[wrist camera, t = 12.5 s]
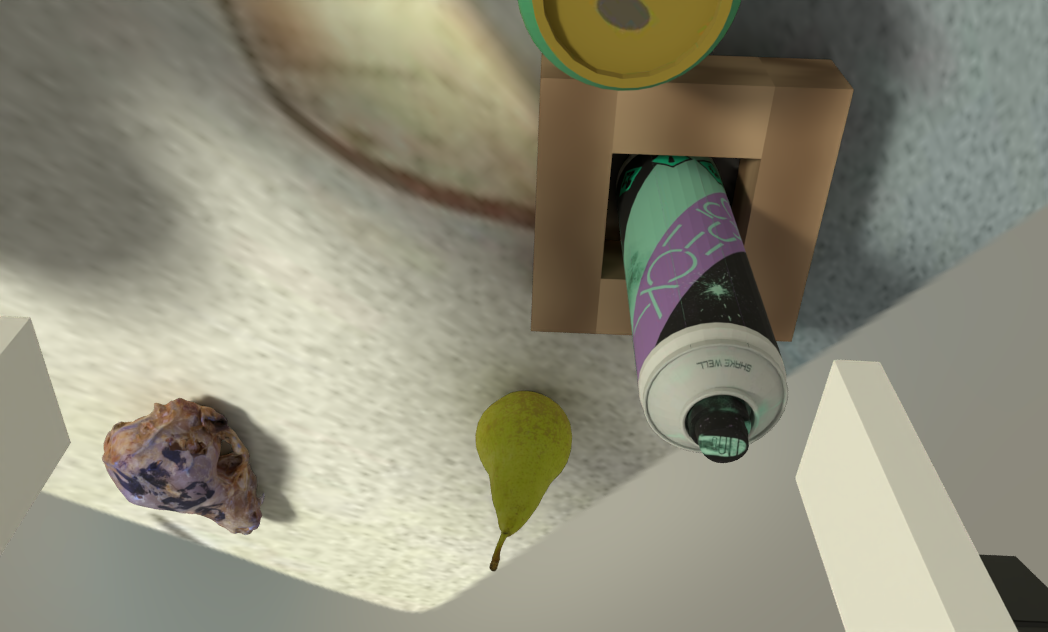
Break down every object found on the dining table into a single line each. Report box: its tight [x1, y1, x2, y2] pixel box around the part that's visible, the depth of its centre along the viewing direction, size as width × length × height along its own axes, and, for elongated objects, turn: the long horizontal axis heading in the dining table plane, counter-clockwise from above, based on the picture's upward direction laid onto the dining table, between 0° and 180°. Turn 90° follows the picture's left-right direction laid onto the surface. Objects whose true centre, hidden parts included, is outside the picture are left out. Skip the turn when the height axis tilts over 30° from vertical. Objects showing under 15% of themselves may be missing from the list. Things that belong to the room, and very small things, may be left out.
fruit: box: [476, 391, 572, 571], centre depth 51 cm, size 6×6×12 cm
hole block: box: [531, 53, 854, 342], centre depth 45 cm, size 14×14×4 cm
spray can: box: [616, 154, 788, 463], centre depth 39 cm, size 6×6×20 cm
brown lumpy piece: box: [102, 398, 265, 535], centre depth 57 cm, size 12×8×6 cm, turn 18°
